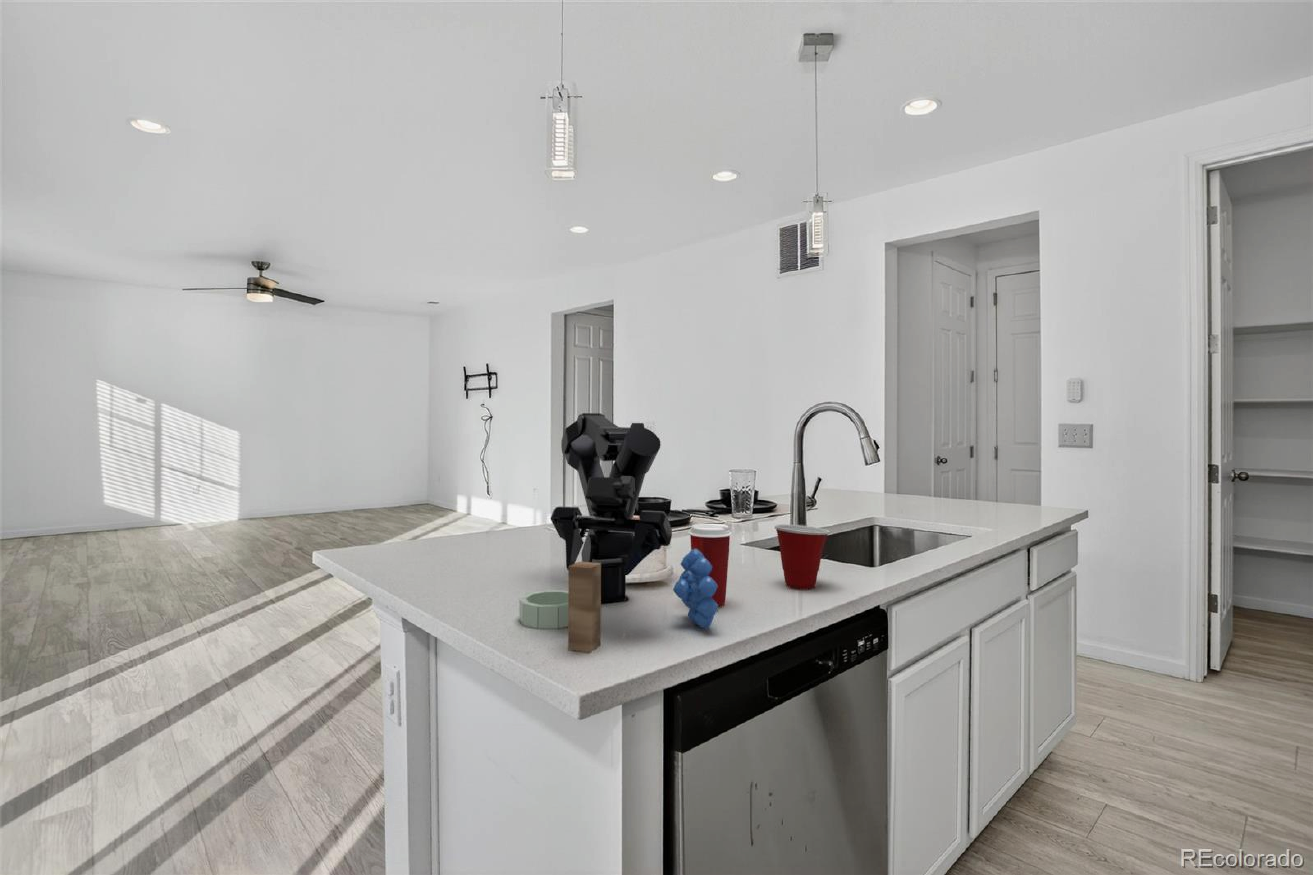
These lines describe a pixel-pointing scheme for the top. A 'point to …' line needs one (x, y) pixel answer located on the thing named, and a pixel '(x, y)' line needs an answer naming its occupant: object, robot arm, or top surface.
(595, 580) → the layered tan brick
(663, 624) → the top surface
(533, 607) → the pale green faceted bowl
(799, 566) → the plastic cup
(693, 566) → the grapes
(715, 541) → the paper cup
